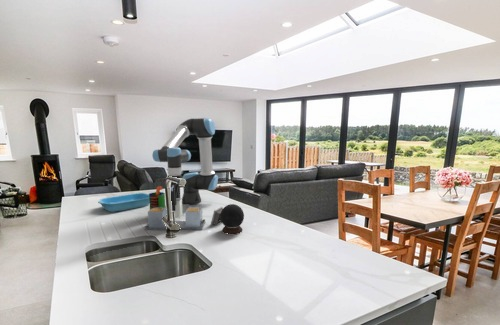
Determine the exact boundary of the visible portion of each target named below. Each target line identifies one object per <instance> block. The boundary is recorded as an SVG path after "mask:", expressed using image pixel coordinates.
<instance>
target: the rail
mask: <svg viewBox="0 0 500 325" xmlns="http://www.w3.org/2000/svg"><path fill="white" fill-rule="evenodd" d="M166 214H167V215H168V209H167V210H166V206H165V207H153V208H152V209H151V210H150V209H149V210H148V211H147V222H148V223H146V225H145V226H144V230H145V231H167V230H166V226H165V224H164V222H163V221H162V218H163V217H164V216H166ZM184 217H185V220H175V221H176V223H177V224H179V225H180V228H181V230H183V231H191V230H193V231H200V230H201V231H202V230H203V229H204V227H205V225H206V219H204V218H203V206H188V208H187V209H186V210H185V216H184ZM181 230H180V231H181Z"/></svg>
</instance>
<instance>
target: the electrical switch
mask: <svg viewBox="0 0 500 325" xmlns="http://www.w3.org/2000/svg"><path fill="white" fill-rule="evenodd" d="M223 208H224V207H223V206H220V207H217V208H216V209H214V210H213V214H212V218H211V222H210V224H211V225H216V226H218V225H219V224H221V223H222V222H221V218H220V214H221V211H222V209H223ZM220 222H221V223H220ZM217 224H218V225H217Z"/></svg>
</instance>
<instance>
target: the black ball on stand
mask: <svg viewBox="0 0 500 325" xmlns="http://www.w3.org/2000/svg"><path fill="white" fill-rule="evenodd" d="M220 218H221V223H222V225H223V228H222V230H221V231H223V232H224V233H223V232H222V233H223V234H225V233H228V234H227V235H229V234H234V235H238V234H237V233H239V234H241V233H243V228H242V227H241V225H242V224H243V222H244V218H245V214H244V211H243V208H241V206H239V205H237V204H234V203H229V204H228V205H225V206H224V207H223V209H222V211H221V214H220ZM240 232H241V233H240Z"/></svg>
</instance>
